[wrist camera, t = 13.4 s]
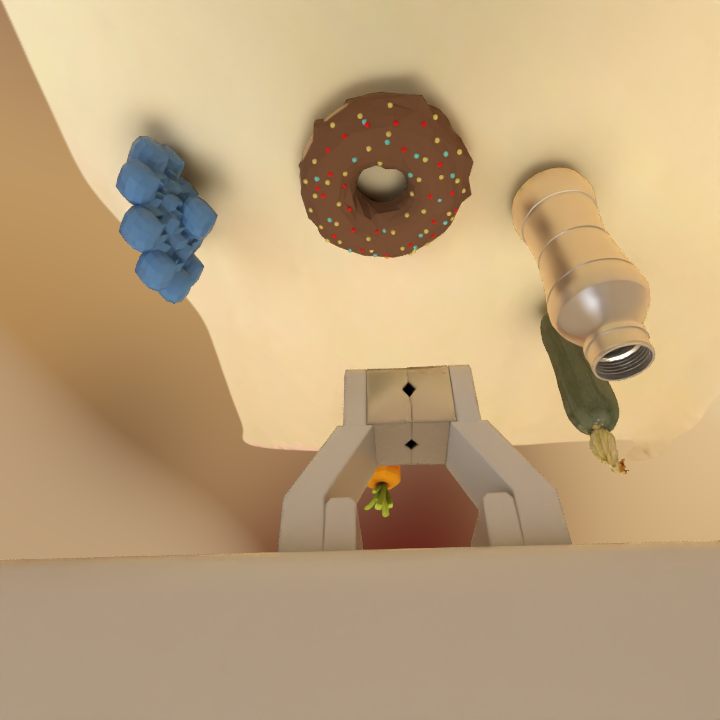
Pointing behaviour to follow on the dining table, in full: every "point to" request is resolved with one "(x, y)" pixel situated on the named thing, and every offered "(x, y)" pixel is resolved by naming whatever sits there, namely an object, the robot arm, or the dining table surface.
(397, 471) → the carrot
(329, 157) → the donut
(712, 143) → the dining table surface
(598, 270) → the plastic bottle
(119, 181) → the grapes
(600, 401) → the vegetable
